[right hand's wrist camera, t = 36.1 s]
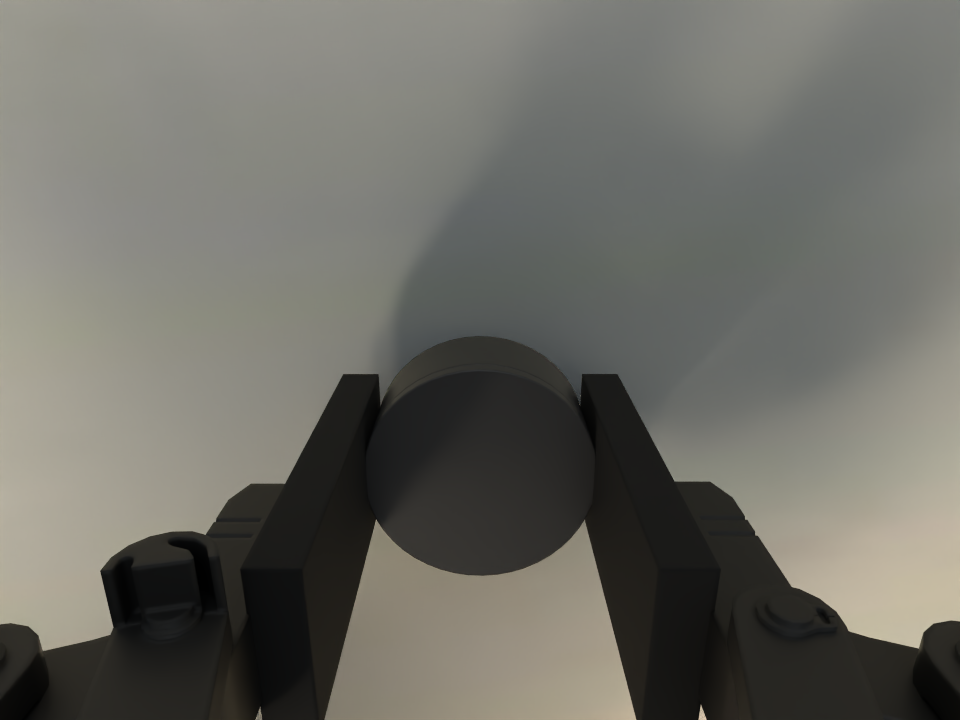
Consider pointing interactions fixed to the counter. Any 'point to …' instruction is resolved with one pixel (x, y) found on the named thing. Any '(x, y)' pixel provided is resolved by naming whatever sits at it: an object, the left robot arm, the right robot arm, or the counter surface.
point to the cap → (480, 458)
